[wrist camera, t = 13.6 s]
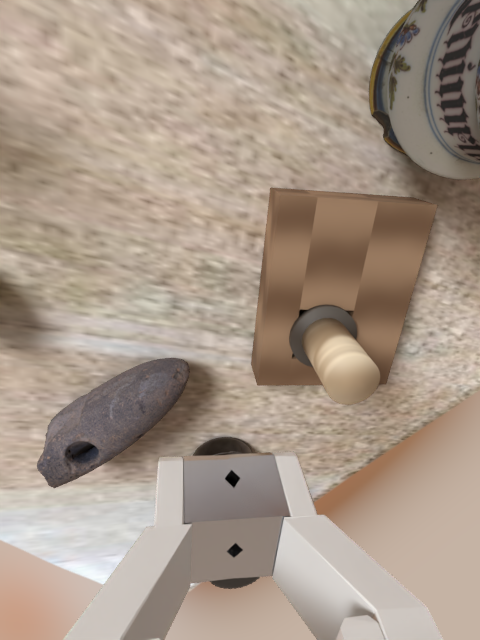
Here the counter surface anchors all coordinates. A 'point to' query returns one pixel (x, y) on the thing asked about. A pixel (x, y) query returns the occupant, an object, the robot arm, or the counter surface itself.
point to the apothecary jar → (432, 87)
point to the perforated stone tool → (110, 419)
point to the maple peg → (334, 353)
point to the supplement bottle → (226, 448)
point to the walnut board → (336, 273)
